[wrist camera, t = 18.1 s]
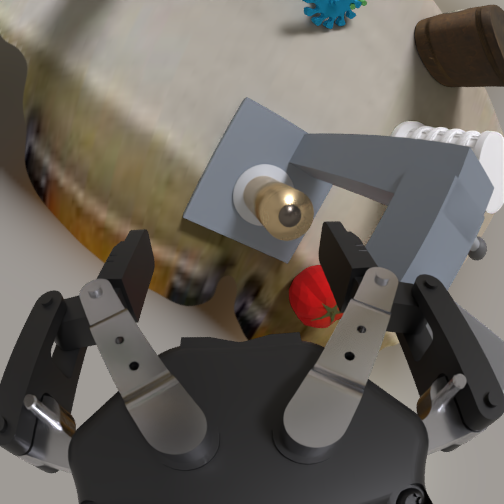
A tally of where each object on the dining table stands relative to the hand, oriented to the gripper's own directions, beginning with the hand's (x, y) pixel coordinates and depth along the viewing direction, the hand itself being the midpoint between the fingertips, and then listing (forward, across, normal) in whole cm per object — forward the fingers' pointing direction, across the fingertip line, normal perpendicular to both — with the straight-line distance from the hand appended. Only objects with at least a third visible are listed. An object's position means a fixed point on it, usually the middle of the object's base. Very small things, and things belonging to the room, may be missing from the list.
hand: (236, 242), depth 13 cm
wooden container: (+36, +39, +19) cm, 57 cm away
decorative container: (+30, +30, -2) cm, 42 cm away
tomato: (+23, +12, -23) cm, 35 cm away
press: (+25, +8, -9) cm, 28 cm away
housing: (+22, +4, -7) cm, 24 cm away
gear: (+32, +14, +20) cm, 41 cm away
